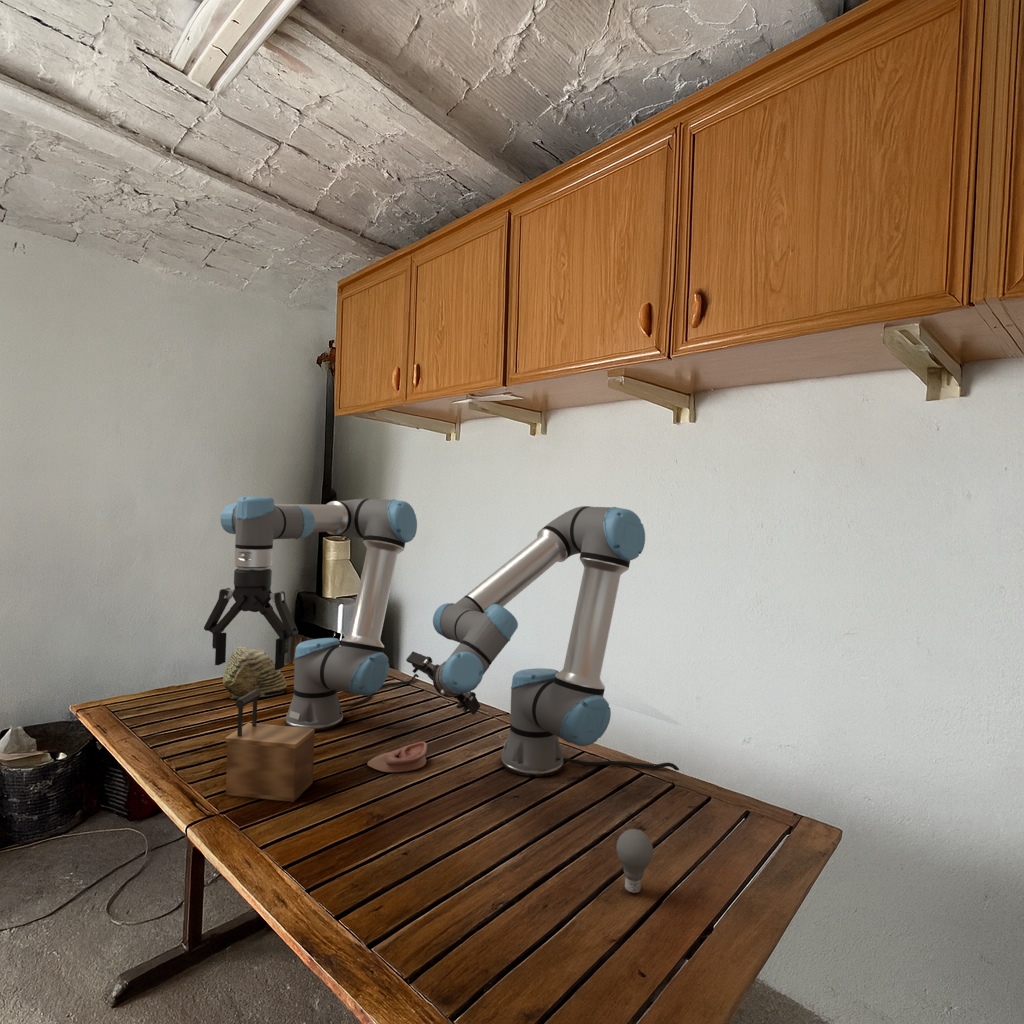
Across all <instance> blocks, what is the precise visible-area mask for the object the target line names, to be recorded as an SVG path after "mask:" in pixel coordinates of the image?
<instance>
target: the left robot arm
mask: <svg viewBox="0 0 1024 1024" xmlns="http://www.w3.org/2000/svg"><path fill="white" fill-rule="evenodd" d="M219 519H220V525H221V527H222V529H223V530H224V531H225V532H226V533H228V534H230V535H235V538H234V539H235V540H234V541H235V543H234V544H235V545H234V547H235V548H234V567H236V568H235V569H234V571H233V587H234V588H233V589H232V588H230V587H226V588H221V589H220V590H219V593H218V599H217V601H216V603H215V605H214V606H213V609H212V611H211V613H210V614H209V617H208V618H207V620H206V622H205V624H204V625H203V630H204V631H205V632H207V631H208V632H209V633H211V634H212V643H211V645H212V649H214V650H215V653H214V654H215V655H214V666H221V665H223V664H225V663H226V660H227V659H226V655H227V632H224V631H225V629H226V628H227V627H228V626H229V625H230V623H232V621H234V619H235V618H236V617H237V616H238V614H239V613H241V612H252V613H258V612H259V613H260V615H262V616H263V617H264V618H265V619H266V621H267V622H268V624H269V625H270V626H271V628H272V629H273V631H274V632H275V633H276V635H277V636H278V637H279V638H276V639H275V652H274V653H275V656H274V663H275V670H281V669H283V668H285V655H286V654H288V653H289V650H290V638H292V637H294V636H296V635H299V630H298V627H297V625H296V623H295V620H294V618H293V615H292V613H291V611H290V609H289V606H288V604H287V601H286V592H285V591H283V590H282V591H278V592H272V590H271V589H272V588H271V587H272V577H273V576H272V575H273V570H272V569H271V567H272V566H273V548H274V541H275V540H290V539H295V540H299V539H302V538H303V539H304V538H307V537H308V536H310V535H311V534H312V533H327V534H329V535H332V536H347V537H352V538H358V539H363V541H362V543H363V545H364V546H365V548H366V553H365V556H364V557H365V558H364V562H363V567H362V571H361V576H360V580H359V585H358V590H357V594H356V599H355V603H354V608H353V613H352V616H351V617H352V618H351V622H350V626H349V631H348V633H347V635H346V636H344V637H343V638H342V639H341V641H340V640H339V638H336V637H322V638H313V639H307V640H304V641H302V642H299V643H298V644H297V645H296V647H295V652H294V653H295V654H294V657H293V659H294V660H293V662H294V663H293V665H294V667H293V695H292V696H293V697H292V699H291V702H290V704H289V708H288V711H287V713H286V715H285V726H290V727H301V728H313V729H315V733H316V732H325V731H329V730H332V729H335V728H337V727H339V726H340V725H342V723H343V722H344V714H343V709H342V708H346V707H348V708H349V707H351V706H356V705H359V704H362V703H364V702H366V701H368V700H369V699H371V697H372V695H374V694H376V693H377V692H378V691H379V690H380V689H381V688H384V687H385V688H386V687H389V686H399V685H400V686H401V685H407V684H410V683H412V682H413V681H414V680H415V678H419V677H420V676H419V675H418V674H417V673H414V674H413V676H412V677H411V679H410V680H405V681H398V682H397V681H396V682H389V683H385V682H386V680H387V678H388V675H389V671H390V663H389V658H388V656H387V654H385V653H384V650H385V645H384V644H383V642H382V641H381V640H382V639H381V637H382V631H383V627H384V622H385V618H386V613H387V608H388V603H389V597H390V594H391V589H392V584H393V579H394V574H395V570H396V569H395V568H396V565H397V560H398V559H397V558H398V555H399V554H401V553H403V551H405V548H406V543H409V542H411V541H413V540H414V538H415V537H416V534H417V531H418V519H417V514H416V513H415V510H414V508H413V507H412V505H411V504H410V503H409V502H407V501H405V500H397V499H395V498H393V499H378V498H377V499H375V498H356V499H347V500H331V501H329V502H327V503H326V504H319V503H318V504H316V503H315V504H313V503H312V504H310V503H309V504H306V503H302V504H301V503H300V504H299V503H290V504H289V503H275V499H274V498H273V497H270V496H248V495H247V496H246V495H245V496H244V495H243V496H240V497H239V498H238V499H237V501H236V503H229V504H227V505H225V507H223V509H222V511H221V513H220V518H219ZM230 599H233V600H234V601H235V602H234V603H233V604H232V605H231V607H230V608H229V610H228V611H227V612H226V613H225V614H224V616H223V617H222V615H223V613H224V612H225V610H226V608H227V606H228V603H229V602H230ZM271 600H272V602H273V603H274V605H275V608H276V610H277V613H278V615H279V616H278V615H277V613H276V611H275V610H274V607H273V606H272V604H271V603H270V601H271ZM338 692H342V693H347V694H352V695H353V696H364V697H365V698H362V699H360V700H357V701H353V702H350V703H346V704H345V703H344V704H341V702H340V699H339V695H338Z"/></svg>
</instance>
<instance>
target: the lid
mask: <svg viewBox="0 0 1024 1024" xmlns="http://www.w3.org/2000/svg"><path fill="white" fill-rule="evenodd" d="M259 698H261V697H260V691H259V690H254V691H252V692H250V693H249V694H247V695H245V696H243V697H241V698H237V699H236V701H235V702H234V703H235V707H236V708H237V730H235V731H233V732H232V733H229V734H228V735H227V736H226V737H224V742H225V743H228V742H231V743H242V744H253V745H263V746H274V747H285V748H297V747H298V746H299V745H300V744H301V743H303V742H304V741H305V740H306V739H308V738H309V737H310V736H311V735H312V734H314V733H315V734H316V732H315V729H313V728H301V727H290V726H286V725H277V724H266V723H257V721H258V699H259ZM250 703H252V720H251V721H252V722H247V723H245V724H244V725H243V718H244V717H243V716H244V715H243V714H244V707H245V706H247V705H249V704H250Z"/></svg>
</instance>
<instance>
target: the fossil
mask: <svg viewBox="0 0 1024 1024" xmlns="http://www.w3.org/2000/svg"><path fill="white" fill-rule="evenodd" d="M222 676H223V677H222V685H223V687H224V688H225V690H226V691H228V693H229V698H230V699H240V698H241V697H243V696H245V695H247V694H249V693H250V692H252V691H254V690H259V691H260V697H259V698H264V697H271V696H275V695H281V694H284V693H285V691H286V689H287V687H288V686H287V680H286V678H285V676H284V674H283V673H282V672H281V669H279V670H275V660H273V659H272V658H271V657H270V656H269V655H268V654H267V653H266V652H265V650H264V649H263V648H260V647H258V648H251V647H247V646H246V647H245V646H238V647H237V648H236V649H235V650H233V651H232V653H231V656H230V657H229V659H228V660H227V663H226V666H225V668H224V671H223V675H222Z"/></svg>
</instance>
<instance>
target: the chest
mask: <svg viewBox="0 0 1024 1024" xmlns="http://www.w3.org/2000/svg"><path fill="white" fill-rule="evenodd" d="M315 735H316V732H315V733H314V734H312V735H311V736H310V737H309V738H308V739H306V740H305V741H304V742H303V743H301V744H300V745H299V746H298V747H297V748H285V747H274V746H263V745H253V744H242V743H231V742H227V745H226V746H227V747H226V750H227V751H226V775H225V777H226V779H225V795H226V796H232V797H242V798H250V799H251V798H252V799H261V800H270V801H279V802H281V801H282V802H291V803H294V802H295V801H296V800H298V798H300V796H301V795H302V794H303V793H304V792H305V791H307V789H308V788H309V787H310V786H312V784H313V783H314V782H313V781H314V759H315V758H314V757H315Z"/></svg>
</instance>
